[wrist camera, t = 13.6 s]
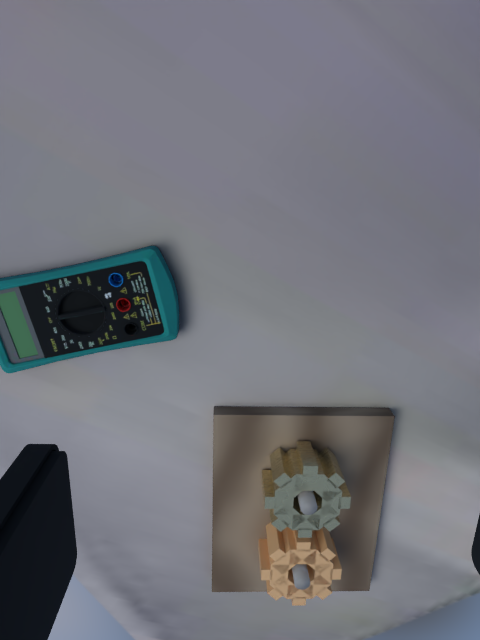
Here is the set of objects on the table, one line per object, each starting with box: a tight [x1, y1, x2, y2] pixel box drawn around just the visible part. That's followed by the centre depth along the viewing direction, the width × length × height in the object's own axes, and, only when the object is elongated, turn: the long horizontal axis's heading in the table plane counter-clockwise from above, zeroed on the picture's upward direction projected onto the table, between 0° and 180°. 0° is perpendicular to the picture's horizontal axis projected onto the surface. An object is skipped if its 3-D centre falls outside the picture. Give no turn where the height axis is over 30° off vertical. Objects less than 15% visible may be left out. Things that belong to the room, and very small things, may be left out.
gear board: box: [212, 407, 395, 592], centre depth 41 cm, size 16×20×6 cm
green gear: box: [261, 441, 351, 538], centre depth 39 cm, size 7×7×4 cm
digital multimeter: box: [0, 246, 179, 373], centre depth 36 cm, size 8×15×3 cm, turn 102°
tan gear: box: [258, 522, 342, 605], centre depth 42 cm, size 7×7×4 cm
